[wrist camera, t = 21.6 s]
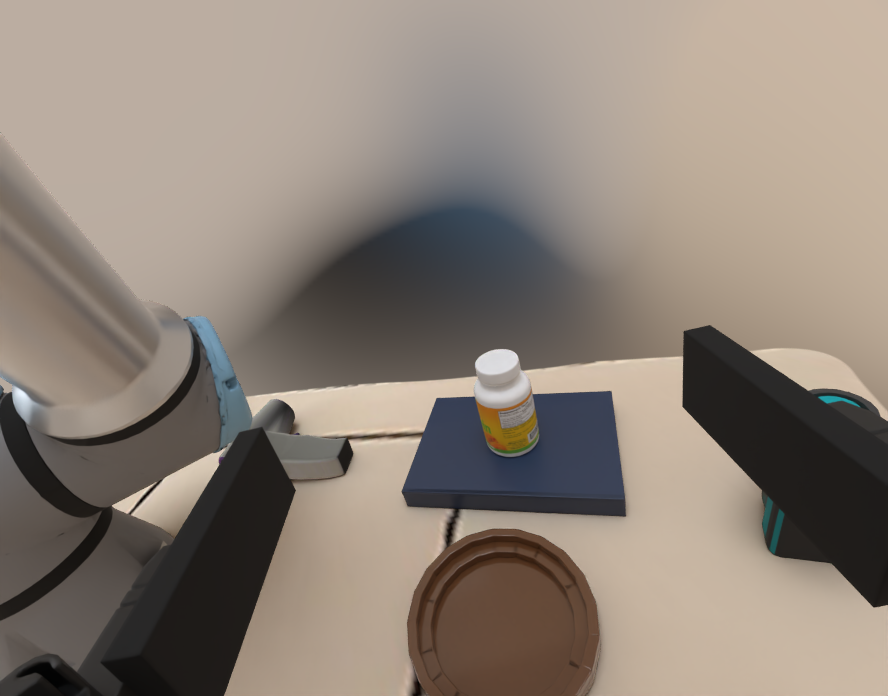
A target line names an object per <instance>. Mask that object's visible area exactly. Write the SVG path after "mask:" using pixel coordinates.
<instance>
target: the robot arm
mask: <svg viewBox="0 0 888 696" xmlns="http://www.w3.org/2000/svg"><path fill="white" fill-rule="evenodd" d="M0 377H1V378H2V379H4V380H6V381H7V382H9V383H11V384H12V392H10V393H4V392H3V390H4V389H3V387H2V386H1V385H0V696H224V694H225V692H226V689H227V686H228V683H229V680H230V677H231V674H232V672H233V669H234V666H235V663H236V660H237V657H238V654H239V652H240V649H241V646H242V643H243V640H244V637H245V634H246V631H247V629H248V626H249V623H250V620H251V617H252V614H253V611H254V609H255V606H256V603H257V600H258V597H259V594H260V591H261V589H262V586H263V583H264V580H265V577H266V574H267V571H268V568H269V566H270V563H271V560H272V557H273V554H274V551H275V548H276V546H277V543H278V540H279V537H280V534H281V531H282V528H283V526H284V523H285V520H286V517H287V514H288V511H289V508H290V505H291V503H292V500H293V497H294V494H295V491H296V490H295V488H294V486H293V484H292V482H291V480H290V478H289V477H288V475H287V473H286V471H285V469H284V467H283V465H282V463H281V461H280V459H279V458H278V456H277V454H276V452H275V450H274V448H273V446H272V444H271V442H270V440H269V439H268V437H267V435H266V433H265V431H264V429H263V427H259V428H255V429H251V430H249V429H250V427H251V424H252V414H251V410H250V407H249V405H248V402H247V400H246V397H245V395H244V393H243V390H242V388H241V386H240V384H239V382H238V380H237V378H236V375H235V373H234V370H233V367H232V365H231V363H230V361H229V358H228V356H227V354H226V352H225V350H224V348H223V346H222V344H221V342H220V339H219V338H218V335H217V333H216V331H215V330H214V328H213V326H212V324H211V322H210V321H209V320H208V319H207V318H206V317H203V316H196V317H187V318H184V319H182V318H181V317H180V316H179V315H178V314H177V313H176V312H175V311H173V310H172V309H170V308H169V307H167V306H165V305H162V304H160V303H156V302H153V301H148V300H142V299H141V300H140V299H138V298H137V297H136V296H135V294H134V293H133V292H132V291H131V289H130V288H129V287H128V286H127V285H126V283H125V282H124V281H123V280H122V279H121V277H120V276H119V275H118V274H117V273H116V271H115V270H114V269H113V268H112V267H111V265H110V264H109V263H108V262H107V260H106V259H105V258H104V257H103V256H102V255H101V254H100V252H99V251H98V250H97V248H96V247H95V246H94V245H93V244H92V242H91V241H90V240H89V239H88V238H87V236H86V235H85V234H84V233H83V232H82V230H81V229H80V228H79V227H78V226H77V224H76V223H75V222H74V221H73V219H72V218H71V217H70V216H69V215H68V213H67V212H66V211H65V210H64V209H63V207H62V206H61V205H60V204H59V203H58V201H57V200H56V199H55V198H54V196H53V195H52V194H51V193H50V192H49V190H48V189H47V188H46V187H45V186H44V184H43V183H42V182H41V181H40V180H39V178H38V177H37V176H36V175H35V174H34V172H33V171H32V170H31V169H30V168H29V167H28V165H27V164H26V163H25V161H24V160H23V159H22V158H21V157H20V155H19V154H18V153H17V152H16V151H15V149H14V148H13V147H12V146H11V145H10V143H9V142H8V141H7V140H6V139H5V137H4V136H3V135H2V134H1V132H0ZM682 407H683V408H684V409H685V410H686V411H687V412H688V413H689V414H690V415H691V416H692V417H693V418H694V419H695V420H696V421H697V422H698V423H699V424H700V426H701V427H702V428H703V429H704V430H705V431H706V432H707V433H708V434H709V435H710V436H711V437H712V438H713V439H714V440H715V441H716V442H717V443H718V444H719V446H720V447H721V448H722V449H723V450H724V451H725V452H726V453H727V454H728V455H729V456H730V457H731V458H732V459H733V460H734V461H735V462H736V463H737V464H738V465H739V467H740V468H741V469H742V470H743V471H744V472H745V473H746V474H747V475H748V476H749V477H750V478H751V479H752V480H753V481H754V482H755V483H756V484H757V485H758V486H759V488H760V489H761V490H762V491H763V492H764V493H765V494H766V495H767V496H768V497H769V498H770V499H771V500H772V501H773V502H774V503H775V504H776V505H777V506H778V508H779V509H780V510H781V511H782V512H783V513H784V514H785V515H786V516H787V517H788V518H789V519H790V520H791V521H792V522H793V523H794V524H795V525H796V526H797V527H798V529H799V530H800V531H801V532H802V533H803V534H804V535H805V536H806V537H807V538H808V539H809V540H810V541H811V542H812V543H813V544H814V545H815V546H816V547H817V548H818V550H819V551H820V552H821V553H822V554H823V555H824V556H825V557H826V558H827V559H828V560H829V561H830V562H831V563H832V564H833V565H834V566H835V567H836V568H837V569H838V571H839V572H840V573H841V574H842V575H843V576H844V577H845V578H846V579H847V580H848V581H849V582H850V583H851V584H852V585H853V586H854V587H855V588H856V589H857V591H858V592H859V593H860V594H861V595H862V596H863V597H864V598H865V599H866V600H867V601H868V602H869V603H870V604H871V605H872V606H873V607H880V606H885V605H888V421H886V420H885V419H883V418H881V417H880V416H878V415H877V414H875V413H873V412H872V411H869V410H866V409H864V408H861V407H858V406H855V405H853V404H850V403H847V402H845V401H842V400H841V401H837V402H832V403H825V402H824V401H822V400H821V399H820V398H818V397H817V396H815V395H814V394H812V393H811V392H809V391H808V390H806V389H805V388H803V387H802V386H800V385H799V384H797V383H796V382H794V381H793V380H791V379H790V378H788V377H787V376H785V375H784V374H782V373H781V372H779V371H778V370H776V369H775V368H773V367H772V366H770V365H769V364H767V363H766V362H764V361H763V360H761V359H760V358H758V357H757V356H755V355H754V354H752V353H751V352H749V351H748V350H746V349H745V348H743V347H742V346H740V345H739V344H737V343H736V342H734V341H733V340H731V339H730V338H728V337H727V336H725V335H724V334H722V333H721V332H719V331H718V330H716V329H715V328H713V327H712V326H710V325H709V326H705V327H700V328H696V329H691V330H687V331H684V345H683V406H682ZM232 441H234V442H233V443H232V445H231V447H230V448H229V450H228V451H227V453H226V455H225V456H224V458H223V460H222V461H221V463H220V465H219V466H218V468H217V470H216V471H215V473H214V475H213V476H212V478H211V480H210V481H209V483H208V485H207V486H206V488H205V489H204V491H203V493H202V494H201V496H200V498H199V499H198V501H197V503H196V504H195V506H194V508H193V509H192V511H191V513H190V514H189V516H188V518H187V519H186V521H185V523H184V524H183V526H182V527H181V529H180V531H179V532H178V534H177V536H176V537H175V539H174V538H173V537H172V536H171V535H170V534H169V533H167V532H166V531H164V530H163V529H161V528H160V527H158V526H155V525H153V524H150V523H148V522H146V521H143V520H141V519H138V518H136V517H134V516H131V515H129V514H126V513H124V512H122V511H119V510H117V509H115V508H113V507H112V505H113V504H115V503H117V502H119V501H121V500H123V499H125V498H127V497H129V496H131V495H132V494H134V493H136V492H138V491H140V490H142V489H144V488H146V487H148V486H150V485H151V484H153V483H155V482H157V481H159V480H161V479H163V478H165V477H167V476H169V475H170V474H172V473H174V472H176V471H178V470H180V469H182V468H184V467H186V466H188V465H189V464H191V463H193V462H195V461H197V460H199V459H201V458H203V457H205V456H207V455H209V454H211V453H216V452H219V451H221V450H222V449H223V448H224V446H225V445H227V444H229V443H231V442H232Z"/></svg>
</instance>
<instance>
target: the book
mask: <svg viewBox="0 0 888 696" xmlns="http://www.w3.org/2000/svg"><path fill="white" fill-rule="evenodd" d="M533 400H534V406H535V411H536V417H537V423H538V429H539V439H538V442H537V444H536V445H535V447H534V448H533V449H531V450H530V451H529V452H527V453H525V454H523V455H520V456H516V457H505V456H501V455H498V454H496V453H494V452H493V451H492V450H491V449H490V448H489V447H488V445H487V442H486V438H485V434H484V431H483V427H482V423H481V419H480V415H479V411H478V407H477V403H476V400H475V397H454V398H437V399H436V401H435V404H434V407H433V409H432V412H431V415H430V417H429V420H428V423H427V425H426V428H425V431H424V433H423V436H422V439H421V441H420V444H419V447H418V449H417V452H416V455H415V457H414V460H413V463H412V465H411V468H410V471H409V473H408V476H407V479H406V481H405V484H404V487H403V489H402V493H403V496H404V498H405V500H406V503H407V505H408V506H413V507H435V508H457V509H479V510H501V511H523V512H545V513H567V514H589V515H611V516H626V509H625V494H624V486H623V478H622V471H621V463H620V455H619V447H618V439H617V431H616V423H615V415H614V408H613V400H612V392H611V391H603V392H578V393H554V394H533Z"/></svg>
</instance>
